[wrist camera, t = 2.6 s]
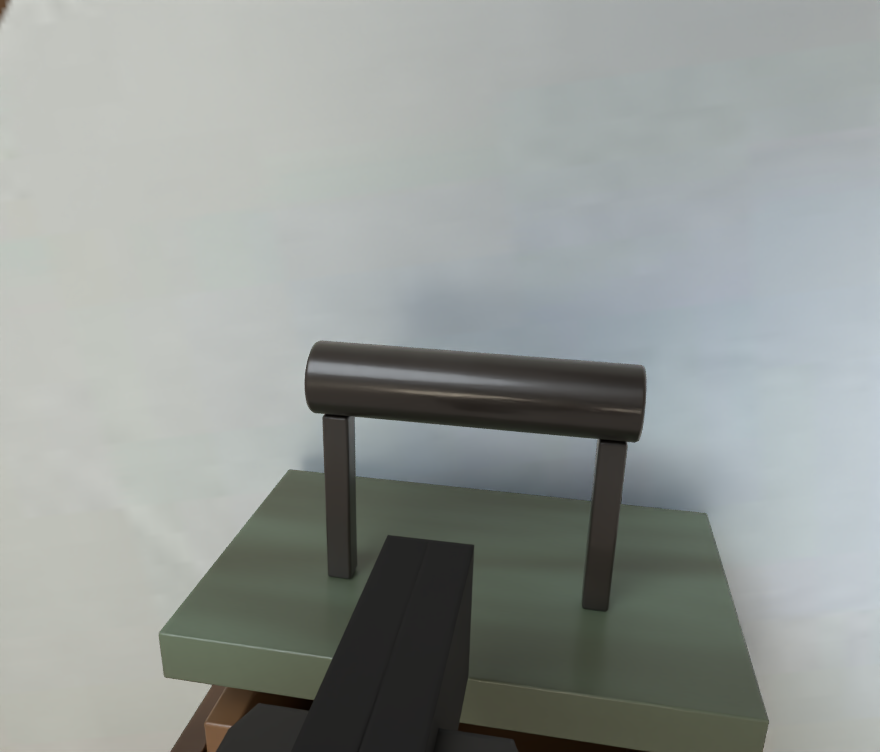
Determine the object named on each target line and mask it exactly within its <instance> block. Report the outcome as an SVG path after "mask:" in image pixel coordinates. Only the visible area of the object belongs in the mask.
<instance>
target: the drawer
mask: <svg viewBox="0 0 880 752" xmlns="http://www.w3.org/2000/svg"><path fill="white" fill-rule="evenodd" d="M305 396H306V402H307V405H308V407H309V409H310V410H311V411H312V412H314V413H321V414H324V416H323V446H324V473H318V472H309V471H299V470H288V471H287V473H286V474H285V475H284V476H283V478H282V479H281V480H280V482H279V483H278V484H277V485H276V487H275V488H274V489H273V490H272V492H271V493H270V494H269V495H268V497H267V498H266V499H265V500H264V502H263V503H262V504H261V505H260V507H259V508H258V509H257V510H256V512H255V513H254V514H253V515H252V517H251V518H250V519H249V520H248V522H247V523H246V524H245V525H244V527H243V528H242V529H241V530H240V532H239V533H238V534H237V535H236V537H235V538H234V539H233V541H232V542H231V543H230V544H229V546H228V547H227V548H226V549H225V551H224V552H223V553H222V554H221V556H220V557H219V558H218V559H217V561H216V562H215V563H214V564H213V566H212V567H211V568H210V569H209V571H208V572H207V573H206V574H205V576H204V577H203V578H202V579H201V581H200V582H199V583H198V584H197V586H196V587H195V588H194V589H193V591H192V592H191V593H190V594H189V596H188V597H187V598H186V600H185V601H184V602H183V603H182V605H181V606H180V607H179V608H178V610H177V611H176V612H175V613H174V615H173V616H172V617H171V618H170V620H169V621H168V622H167V623H166V625H165V626H164V627H163V628H162V630H161V631H160V632H159V641H160V649H161V657H162V664H163V672H164V677H166V678H172V679H179V680H185V681H192V682H198V683H205V684H211V685H218V686H224V687H226V688H225V689H224V691H223V693H222V694H221V696H220V698H219V699H218V701H217V703H216V704H215V706H214V707H213V709H212V711H211V712H210V714H209V716H208V717H207V719H206V721H205V723H204V727H205V736H206V745H207V752H216V750H217V749H218V747H219V745H220V743H221V742H222V740H223V738H224V736H225V734H226V733H227V731H228V729H229V728H230V727H232V726H233V725H234V724H235V723H236V722H237V721H239V720H240V719H241V718H242V717H243V716H244V715H245V714H247V713H248V712H249V711H250V710H251V709H252V708H253V707H255V706H256V705H257V704H258V703H262V704H268V705H275V706H282V707H288V708H295V709H301V710H308V711H309V710H310V708H311V705H312V703H313V701H314V699H315V697H316V694H317V692H318V690H319V688H320V685H321V683H322V681H323V679H324V676H325V674H326V672H327V670H328V667H329V665H330V663H331V661H332V658H333V656H334V654H335V652H336V650H337V647H338V645H339V643H340V641H341V638H342V636H343V634H344V632H345V629H346V627H347V625H348V623H349V620H350V618H351V616H352V614H353V611H354V609H355V607H356V605H357V602H358V600H359V598H360V596H361V594H362V591H363V589H364V587H365V585H366V582H367V580H368V578H369V576H370V573H371V571H372V569H373V567H374V564H375V562H376V560H377V558H378V555H379V553H380V551H381V549H382V547H383V544H384V542H385V540H386V538H387V535H393V536H402V537H410V538H419V539H428V540H437V541H446V542H454V543H463V544H472V545H474V563H473V586H472V608H471V630H470V653H469V675H468V681H467V686H466V691H465V696H464V701H463V706H462V712H461V717H460V722H459V727H458V731H462V732H469V733H475V734H482V735H488V736H495V737H502V738H508V739H514V742H515V745H516V747H517V750H518V752H762V751H763V747H764V742H765V738H766V733H767V729H768V724H769V720H768V717H767V713H766V710H765V706H764V703H763V700H762V696H761V693H760V690H759V686H758V683H757V680H756V676H755V673H754V670H753V666H752V663H751V660H750V656H749V653H748V650H747V646H746V643H745V639H744V636H743V633H742V629H741V626H740V623H739V619H738V616H737V613H736V609H735V606H734V603H733V599H732V596H731V593H730V589H729V586H728V583H727V579H726V576H725V573H724V569H723V566H722V562H721V559H720V556H719V552H718V549H717V546H716V542H715V539H714V536H713V532H712V529H711V526H710V522H709V519H708V516H707V514H706V513H700V512H690V511H681V510H671V509H662V508H652V507H643V506H633V505H624V504H621V499H622V490H623V482H624V473H625V465H626V456H627V448H628V445H627V442H638V441H639V439H640V437H641V433H642V429H643V423H644V415H645V405H646V371H645V367H644V366H642V365H634V364H621V363H608V362H594V361H581V360H568V359H555V358H542V357H529V356H516V355H503V354H490V353H477V352H464V351H451V350H437V349H424V348H411V347H398V346H385V345H372V344H359V343H346V342H333V341H318V342H316V343H315V344H314V346H313V347H312V349H311V351H310V354H309V357H308V361H307V365H306V372H305ZM355 417H364V418H375V419H386V420H397V421H408V422H418V423H429V424H440V425H451V426H462V427H473V428H484V429H494V430H505V431H516V432H527V433H538V434H549V435H560V436H570V437H581V438H592V439H597V449H596V458H595V468H594V478H593V488H592V497H591V501H585V500H576V499H566V498H557V497H547V496H538V495H528V494H519V493H509V492H500V491H490V490H480V489H471V488H461V487H452V486H442V485H433V484H423V483H414V482H404V481H395V480H385V479H375V478H366V477H356V471H355Z"/></svg>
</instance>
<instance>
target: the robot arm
mask: <svg viewBox="0 0 880 752" xmlns="http://www.w3.org/2000/svg"><path fill="white" fill-rule="evenodd" d="M473 563H474V545H472V544H463V543H454V542H446V541H437V540H428V539H419V538H410V537H402V536H393V535H387V538H386V540H385V542H384V544H383V547H382V549H381V551H380V553H379V555H378V558H377V560H376V562H375V564H374V567H373V569H372V571H371V573H370V576H369V578H368V580H367V582H366V585H365V587H364V589H363V591H362V594H361V596H360V598H359V600H358V602H357V605H356V607H355V609H354V611H353V614H352V616H351V618H350V620H349V623H348V625H347V627H346V629H345V632H344V634H343V636H342V638H341V641H340V643H339V645H338V647H337V650H336V652H335V654H334V656H333V658H332V661H331V663H330V665H329V667H328V670H327V672H326V674H325V676H324V679H323V681H322V683H321V685H320V688H319V690H318V692H317V694H316V697H315V699H314V701H313V703H312V705H311V708H310V710H309V711H308V710H301V709H295V708H288V707H282V706H275V705H268V704H262V703H258V704H257V705H256V706H255V707H253V708H252V709H251V710H250V711H249V712H248V713H247V714H245V715H244V716H243V717H242V718H241V719H240V720H239V721H237V722H236V723H235V724H234V725H233V726H232V727H230V728H229V729H228V731H227V733H226V734H225V736H224V738H223V740H222V742H221V743H220V745H219V747H218V749H217V750H216V752H518V750H517V747H516V745H515V742H514V739H508V738H502V737H495V736H488V735H482V734H475V733H469V732H462V731H458V727H459V722H460V717H461V712H462V706H463V701H464V696H465V691H466V686H467V681H468V675H469V653H470V630H471V608H472V586H473Z"/></svg>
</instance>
